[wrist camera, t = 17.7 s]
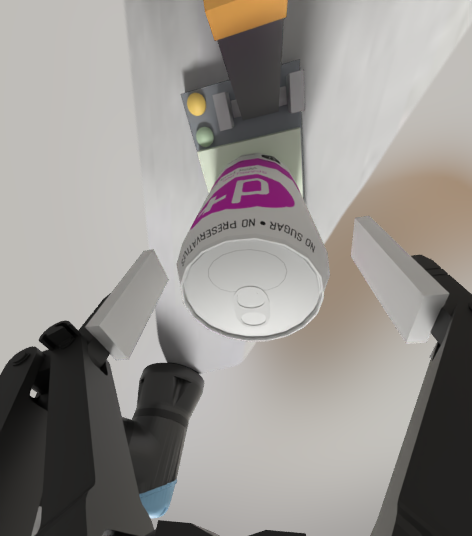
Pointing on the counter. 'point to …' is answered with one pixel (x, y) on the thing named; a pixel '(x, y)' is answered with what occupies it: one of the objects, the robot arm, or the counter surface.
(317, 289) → the supplement can
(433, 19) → the counter surface
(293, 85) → the panel
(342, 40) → the counter surface
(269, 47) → the breaker lever
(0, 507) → the robot arm
